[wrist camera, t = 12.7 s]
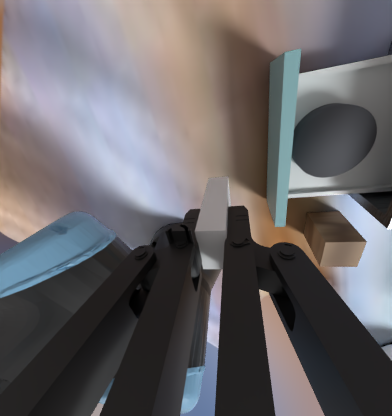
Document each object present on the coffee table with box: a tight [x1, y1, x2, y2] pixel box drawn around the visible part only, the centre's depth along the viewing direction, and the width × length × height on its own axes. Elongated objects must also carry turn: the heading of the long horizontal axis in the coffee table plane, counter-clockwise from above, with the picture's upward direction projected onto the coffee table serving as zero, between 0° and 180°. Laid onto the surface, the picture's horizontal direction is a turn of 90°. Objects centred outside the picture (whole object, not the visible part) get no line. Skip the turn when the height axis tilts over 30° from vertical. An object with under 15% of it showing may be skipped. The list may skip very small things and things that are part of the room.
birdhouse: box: [267, 49, 392, 227], centre depth 20 cm, size 16×18×7 cm
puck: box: [292, 103, 377, 178], centre depth 21 cm, size 8×8×2 cm
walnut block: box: [304, 211, 367, 267], centre depth 27 cm, size 4×4×7 cm
